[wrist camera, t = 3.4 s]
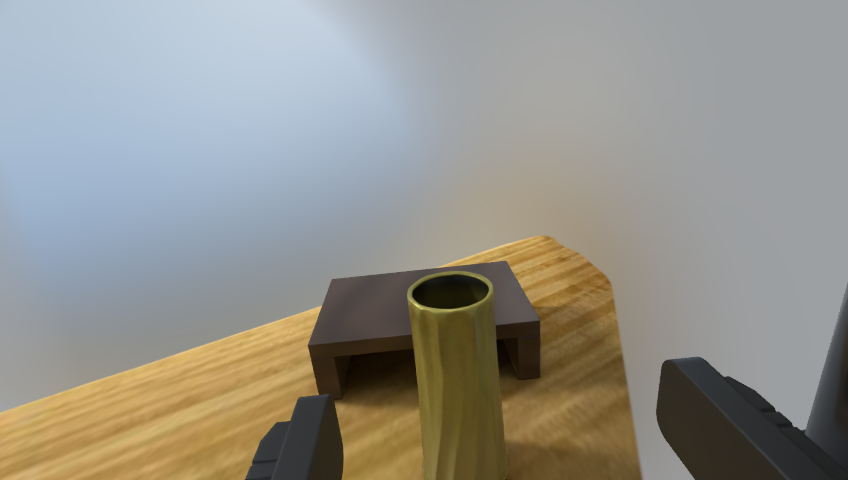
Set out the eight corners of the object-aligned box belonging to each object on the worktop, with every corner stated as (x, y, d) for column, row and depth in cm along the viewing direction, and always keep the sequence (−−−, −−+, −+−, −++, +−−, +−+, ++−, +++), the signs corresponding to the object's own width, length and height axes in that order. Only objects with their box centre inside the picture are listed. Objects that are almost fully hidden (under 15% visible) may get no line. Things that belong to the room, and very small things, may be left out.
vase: (409, 454, 32) (385, 283, 27) (479, 422, 34) (468, 260, 29) (447, 522, 27) (426, 327, 22) (526, 480, 29) (523, 294, 24)
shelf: (507, 306, 51) (506, 260, 49) (540, 377, 39) (540, 320, 36) (340, 324, 51) (331, 279, 49) (320, 401, 38) (307, 345, 36)
